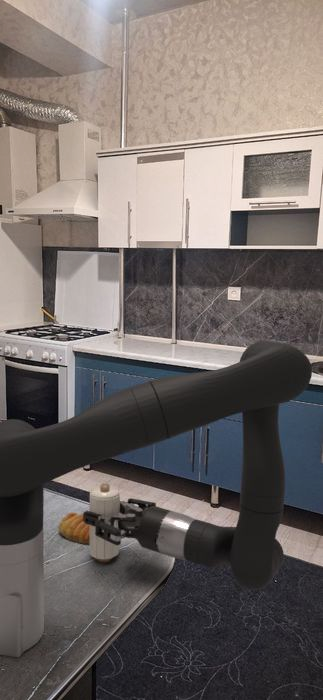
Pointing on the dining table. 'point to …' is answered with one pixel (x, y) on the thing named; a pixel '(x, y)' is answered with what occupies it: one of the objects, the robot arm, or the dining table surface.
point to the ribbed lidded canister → (105, 504)
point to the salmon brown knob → (104, 560)
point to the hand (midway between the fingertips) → (94, 509)
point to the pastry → (75, 528)
